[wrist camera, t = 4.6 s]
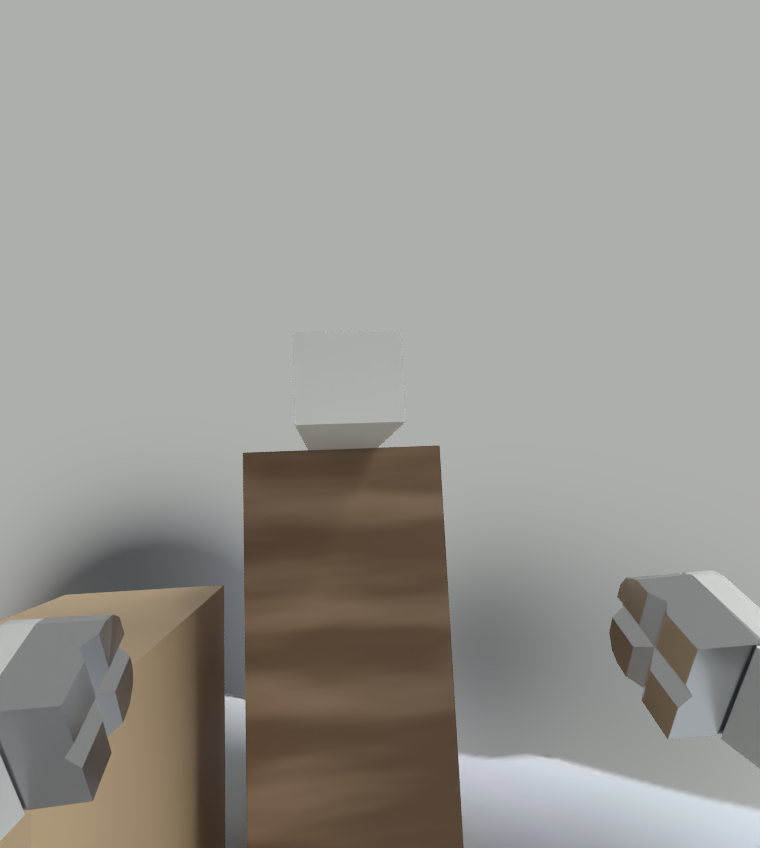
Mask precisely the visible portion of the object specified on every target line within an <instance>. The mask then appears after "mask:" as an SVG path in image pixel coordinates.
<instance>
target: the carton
mask: <svg viewBox="0 0 760 848" xmlns="http://www.w3.org/2000/svg"><path fill="white" fill-rule="evenodd" d="M111 614H113V615H116V616H118V617H120V620H121V623H122V627H123V630H124V636H123V638H122V641H121V643H120V645H119V648H120V649H122V650H123V651H124V652H126V653H127V654H128V655H129V656H130V658H131V663H132V667H133V688H132V694H131V700H130V705H129V708H128V711H127V714H126V716H125V719H124V722H123V723H122V724H121V725H120V726H119V727H118V728H117V729H116V730H115V731H114V732H113V733H112V734H111V735H110V736H108V741H109V745H110V748H111V752H112V753H111V756H110V758H109V761H108V763H107V766H106V768H105V771H104V774H103V776H102V779H101V781H100V784H99V786H98V789H97V792H96V794H95V797H94V799H93V801H91V802H84V803H76V804H69V805H62V806H55V807H47V808H40V809H33V810H25V811H24V812H25V815H24V816H23V817H22V818H21V820H20V821H19V822H18V823H17V824H16V825H15V826H14V827H13V828H12V829H11V830H10V831H9V832H8V833H7V835H6V836H5V837H4V838H3V839H2V840H1V841H0V848H225V705H224V585H217V586H201V587H185V588H171V589H154V590H137V591H122V592H106V593H89V594H73V595H64V596H62V597H59V598H57V599H54V600H52V601H49V602H47V603H44V604H42V605H39V606H36V607H34V608H31V609H29V610H26V611H24V612H21V613H19V614H16V615H13V616H11V617H8V618H6V619H3V620H1V621H0V625H2V624H3V623H5V622H7V621H9V620H21V619H44V618H49V617H69V616H90V615H111Z"/></svg>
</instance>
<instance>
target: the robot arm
mask: <svg viewBox="0 0 760 848" xmlns="http://www.w3.org/2000/svg"><path fill="white" fill-rule="evenodd" d="M617 597H618V598H619V600H620V602H621V603H622V605H623V607H622V608H621V609H620V610H619V611H618V612H617V613H616V614H615V615H614V617H613V618H612V623H611V628H610V639H611V646H612V651H613V653H614V656H615V658H616V661H617V663H618V664H619V666H620V668H621V669H622V671H623V672H624V674H625V676H626V677H628V678H629V679H631V680H632V681H634V682H636V683H637V684H639V685H640V686H642V687H643V693H642V701H643V703H644V704H645V706H646V707H647V709H648V710H649V712H650V713H651V715H652V716H653V718H654V719H655V721H656V722H657V724H658V725H659V727H660V728H661V729H662V731H663V733H664V734H665V736H666V737H667V739H681V738H695V737H708V736H721V735H722V737H721V739H722V740H723V741H725V742H726V743H727V744H728V745H730V746H731V747H732V748H734V749H735V750H736V751H738V752H739V753H740V754H742V755H743V756H744V757H745V758H747V759H748V760H749V761H751V762H752V763H753V764H755V765H756V766H757V767H758V768H760V608H759V607H757V606H756V605H755V604H754V603H753V602H752V601H751V600H750V599H748V597H746V596H745V595H744V594H743V593H742V592H741V591H740V590H738V588H736V587H735V586H734V585H733V584H732V583H731V582H729V580H727V579H726V578H725V577H724V576H723V575H721V574H719V573H717V572H714V571H712V570H708V571H697V572H686V573H682V574H668V575H655V576H643V577H630V578H626V579H625V580H624V581H623V583H622V584H621V585H620V589H619V593H618V596H617ZM123 636H124V630H123V627H122V623H121V620H120V617H118V616H116V615H113V614H111V615H90V616H69V617H49V618H44V619H21V620H9V621H7V622H5V623H3V624H2V625H0V841H1V840H2V839H3V838H4V837H5V836H6V835H7V833H8V832H9V831H10V830H11V829H12V828H13V827H14V826H15V825H16V824H17V823H18V822H19V821H20V820H21V818H22V817H23V816H24V815H25V812H24V811H25V810H33V809H40V808H47V807H55V806H62V805H69V804H76V803H84V802H91V801H93V799H94V797H95V794H96V792H97V789H98V786H99V784H100V781H101V779H102V776H103V774H104V771H105V768H106V766H107V763H108V761H109V758H110V756H111V753H112V752H111V748H110V745H109V741H108V736H110V735H111V734H112V733H113V732H114V731H115V730H116V729H117V728H118V727H119V726H120V725H121V724H122V723H123V722H124V719H125V716H126V714H127V711H128V708H129V705H130V700H131V694H132V688H133V667H132V663H131V658H130V656H129V655H128V654H127V653H126V652H124V651H123V650H122V649H120V648H119V645H120V643H121V641H122V638H123Z"/></svg>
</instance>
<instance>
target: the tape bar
mask: <svg viewBox="0 0 760 848" xmlns="http://www.w3.org/2000/svg"><path fill="white" fill-rule="evenodd" d="M293 364H294V406H295V426H296V428H297V430H298V432H299V434H300V435H301V437H302V439H303V441H304V443H305V445H306V447H307V448H308V450H335V449H362V448H378V447H379V446H380V445H381V444H382V443H383V442H384V441H385V440H386V439H388V438H389V437H390V436H391V435H392V434H393V433H394V432H395V431H396V430H397V429H398V428H399V427H401V425H403V424H404V423H405V422H406V416H405V415H406V414H405V395H404V375H403V356H402V337H401V331H336V332H335V331H331V332H293Z"/></svg>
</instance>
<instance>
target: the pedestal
mask: <svg viewBox="0 0 760 848" xmlns="http://www.w3.org/2000/svg"><path fill="white" fill-rule="evenodd" d="M243 493H244V495H243V499H244V592H245V594H244V596H245V685H246V687H245V690H246V691H245V692H246V789H247V848H463V832H462V815H461V798H460V782H459V765H458V748H457V731H456V715H455V698H454V682H453V665H452V649H451V631H450V614H449V599H448V581H447V566H446V565H447V564H446V548H445V532H444V514H443V498H442V481H441V464H440V447H439V446H418V447H389V448H362V449H335V450H308V451H283V452H282V451H280V452H254V453H243Z"/></svg>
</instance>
